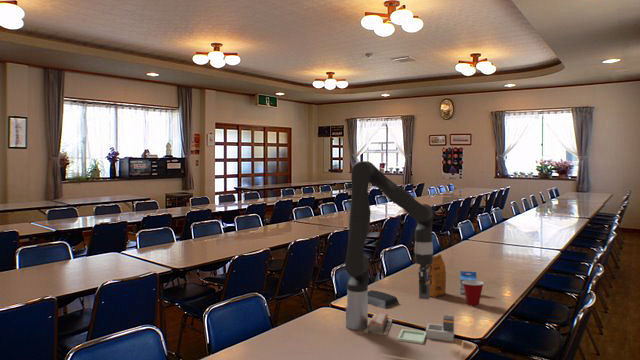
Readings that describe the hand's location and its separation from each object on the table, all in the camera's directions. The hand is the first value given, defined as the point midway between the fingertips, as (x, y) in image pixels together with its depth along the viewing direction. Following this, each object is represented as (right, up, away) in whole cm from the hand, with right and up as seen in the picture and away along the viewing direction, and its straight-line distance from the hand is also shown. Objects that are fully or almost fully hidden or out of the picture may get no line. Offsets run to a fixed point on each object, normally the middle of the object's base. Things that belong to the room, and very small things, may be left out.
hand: (424, 291), depth 186 cm
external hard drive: (-13, -18, +49) cm, 54 cm away
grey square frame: (+7, -20, +2) cm, 21 cm away
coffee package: (+20, -17, +62) cm, 67 cm away
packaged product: (-18, -20, +13) cm, 30 cm away
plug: (0, -2, 0) cm, 2 cm away
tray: (-5, -20, 0) cm, 21 cm away
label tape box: (+39, -17, +62) cm, 75 cm away
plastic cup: (+36, -18, +44) cm, 59 cm away
